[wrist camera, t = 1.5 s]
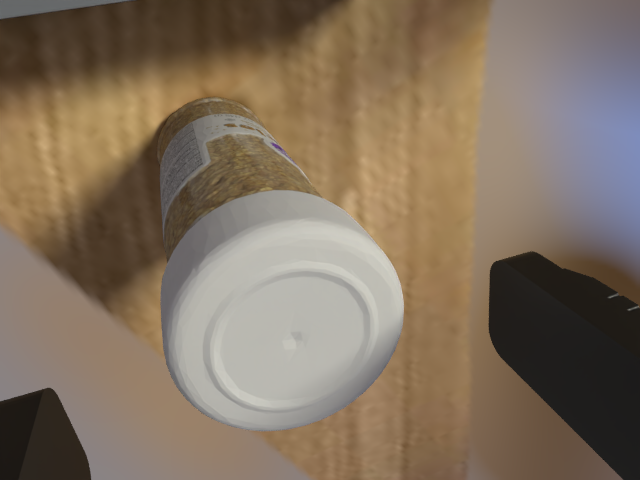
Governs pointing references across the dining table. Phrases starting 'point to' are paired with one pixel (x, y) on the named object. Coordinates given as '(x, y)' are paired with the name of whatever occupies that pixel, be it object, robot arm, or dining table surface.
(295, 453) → the dining table surface
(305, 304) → the sprinkles bottle
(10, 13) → the well block
